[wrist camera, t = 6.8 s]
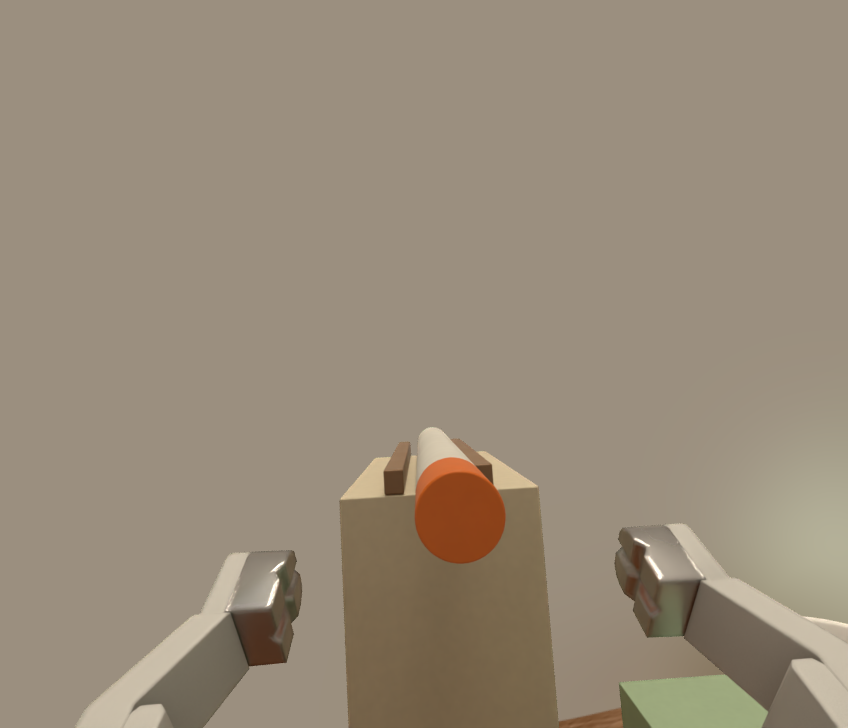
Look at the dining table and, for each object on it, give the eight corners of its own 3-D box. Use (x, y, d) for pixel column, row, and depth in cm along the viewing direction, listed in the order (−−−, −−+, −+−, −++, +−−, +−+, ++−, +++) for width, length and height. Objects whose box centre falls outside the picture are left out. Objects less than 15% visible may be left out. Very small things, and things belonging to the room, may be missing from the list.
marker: (410, 560, 9) (418, 465, 10) (416, 455, 29) (419, 425, 29) (502, 568, 9) (509, 474, 10) (445, 458, 29) (448, 428, 29)
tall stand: (370, 1285, 15) (337, 473, 17) (394, 857, 29) (374, 443, 31) (605, 1263, 15) (536, 460, 17) (514, 848, 29) (484, 436, 31)
